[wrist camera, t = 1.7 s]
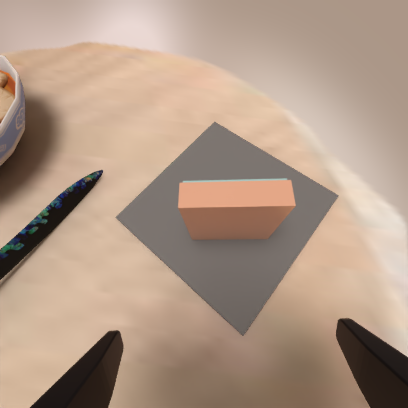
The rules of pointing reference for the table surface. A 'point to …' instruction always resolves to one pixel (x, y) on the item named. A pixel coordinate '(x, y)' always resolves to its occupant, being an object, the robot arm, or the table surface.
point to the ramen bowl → (10, 109)
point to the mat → (234, 248)
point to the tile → (235, 207)
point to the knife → (44, 223)
